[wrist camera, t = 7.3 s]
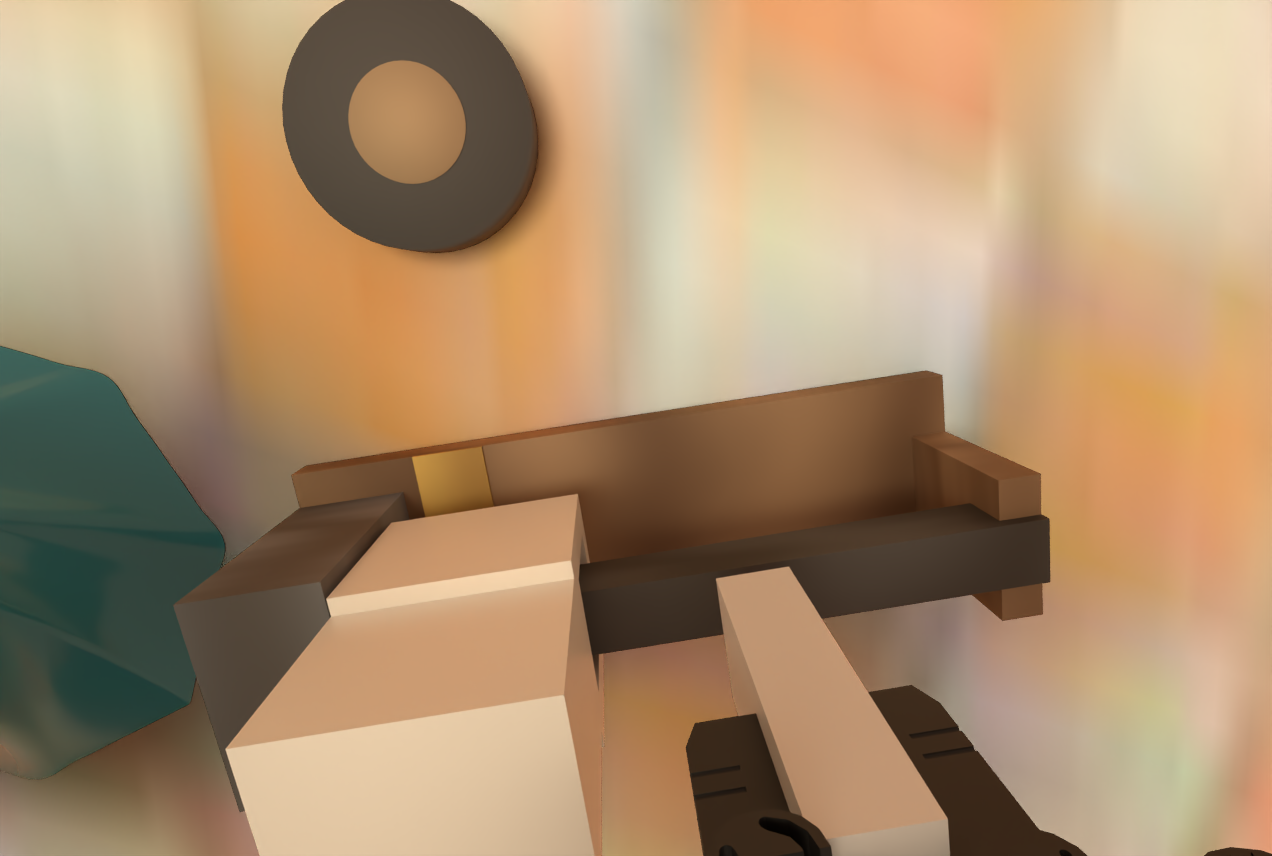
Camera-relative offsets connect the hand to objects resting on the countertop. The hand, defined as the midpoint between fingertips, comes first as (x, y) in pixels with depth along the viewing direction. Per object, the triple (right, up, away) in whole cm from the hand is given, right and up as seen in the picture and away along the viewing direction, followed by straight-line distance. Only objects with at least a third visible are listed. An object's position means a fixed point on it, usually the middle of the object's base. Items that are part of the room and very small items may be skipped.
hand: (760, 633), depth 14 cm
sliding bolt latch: (-3, +1, +7) cm, 8 cm away
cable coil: (-8, +12, +5) cm, 15 cm away
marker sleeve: (-6, 0, +5) cm, 8 cm away
